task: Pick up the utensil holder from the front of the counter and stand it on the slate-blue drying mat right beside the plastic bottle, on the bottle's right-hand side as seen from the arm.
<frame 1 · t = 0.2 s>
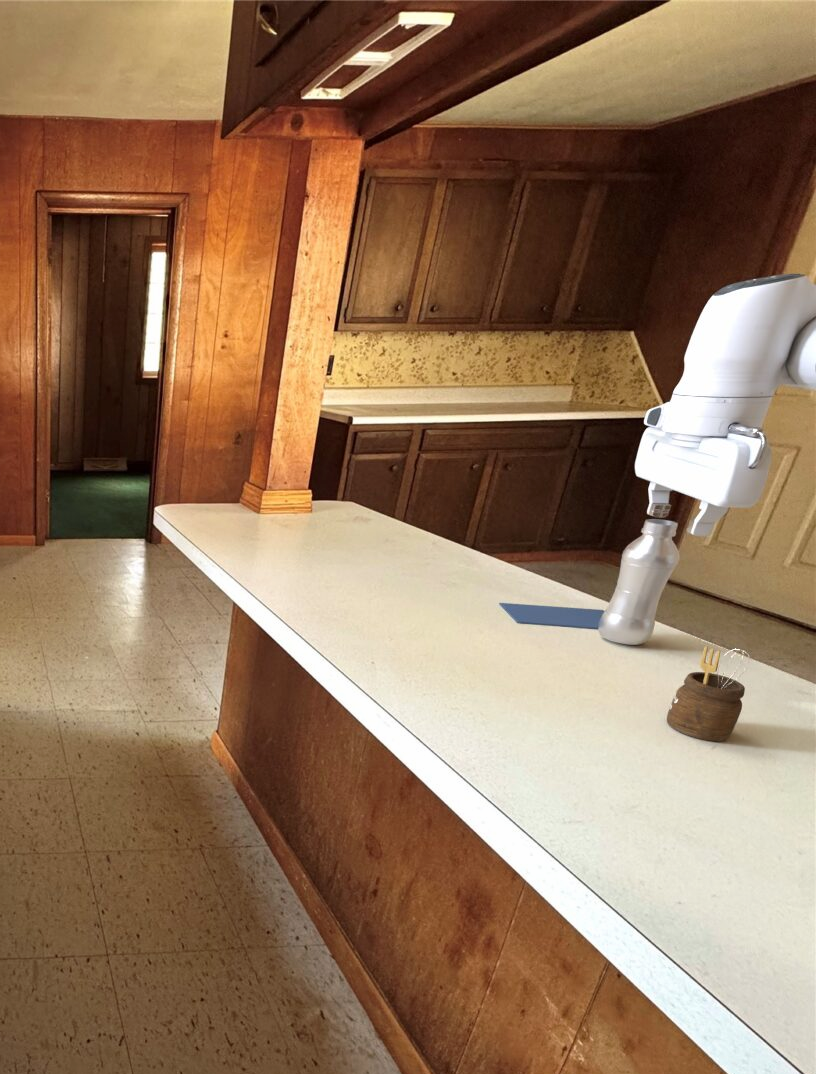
hand: (675, 525, 88), 23 cm above the countertop, tool pointing down, fingers open, 8 cm apart
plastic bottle: (620, 642, 108), on the countertop
drying mat: (560, 617, 117), on the countertop
utensil holder: (694, 731, 84), on the countertop
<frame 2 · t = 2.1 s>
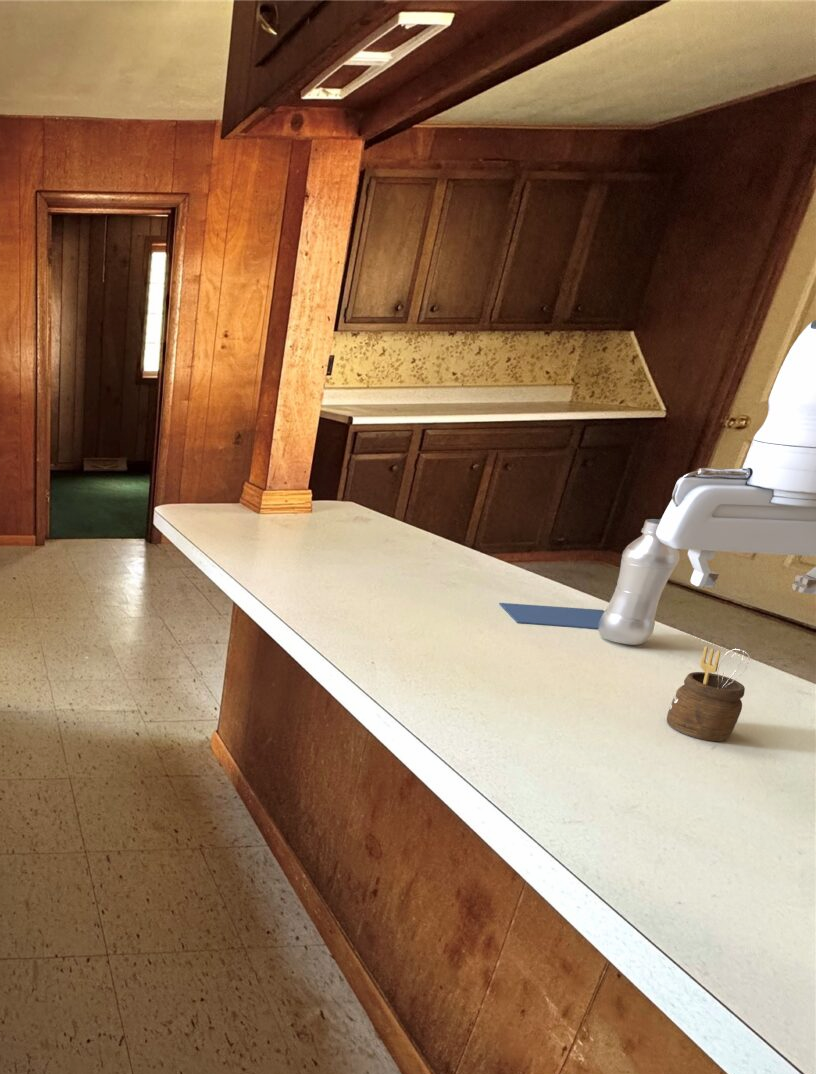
hand: (751, 588, 77), 19 cm above the countertop, tool pointing down, fingers open, 8 cm apart
nothing on the countertop moved.
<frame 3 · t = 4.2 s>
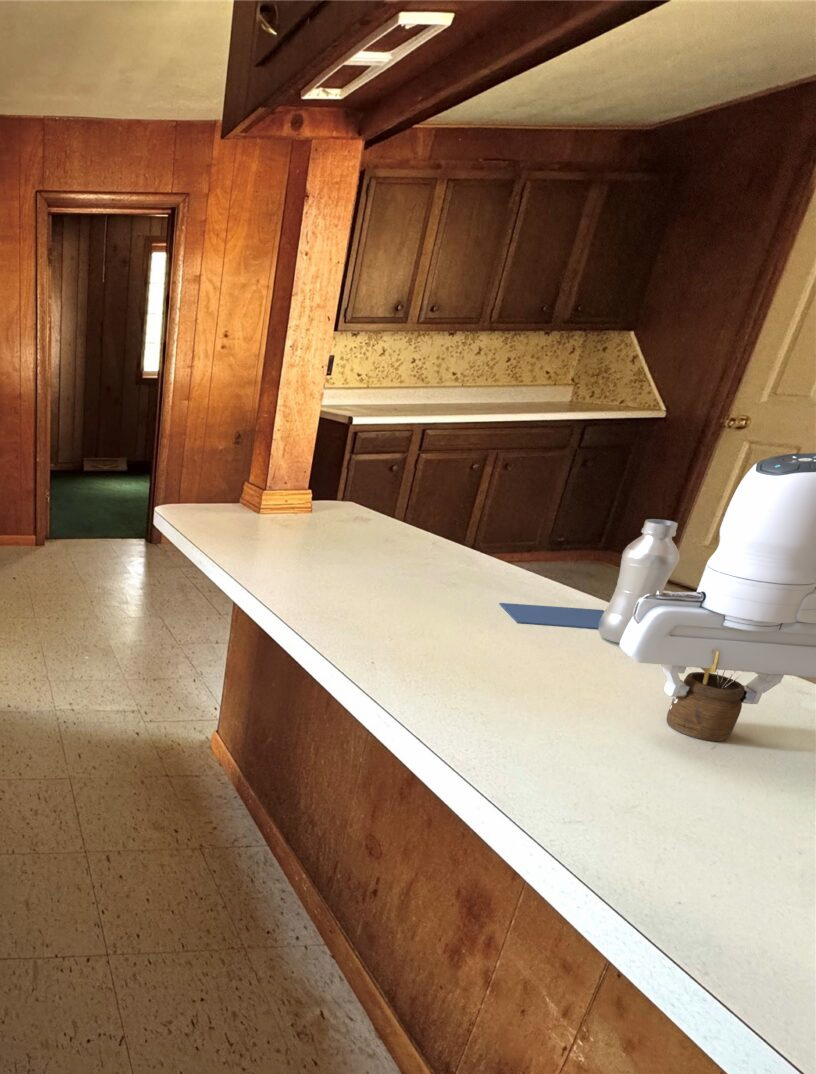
hand: (709, 698, 82), 5 cm above the countertop, tool pointing down, fingers closed on utensil holder, 5 cm apart
utensil holder: (694, 731, 84), on the countertop, touching gripper
everything else where it was.
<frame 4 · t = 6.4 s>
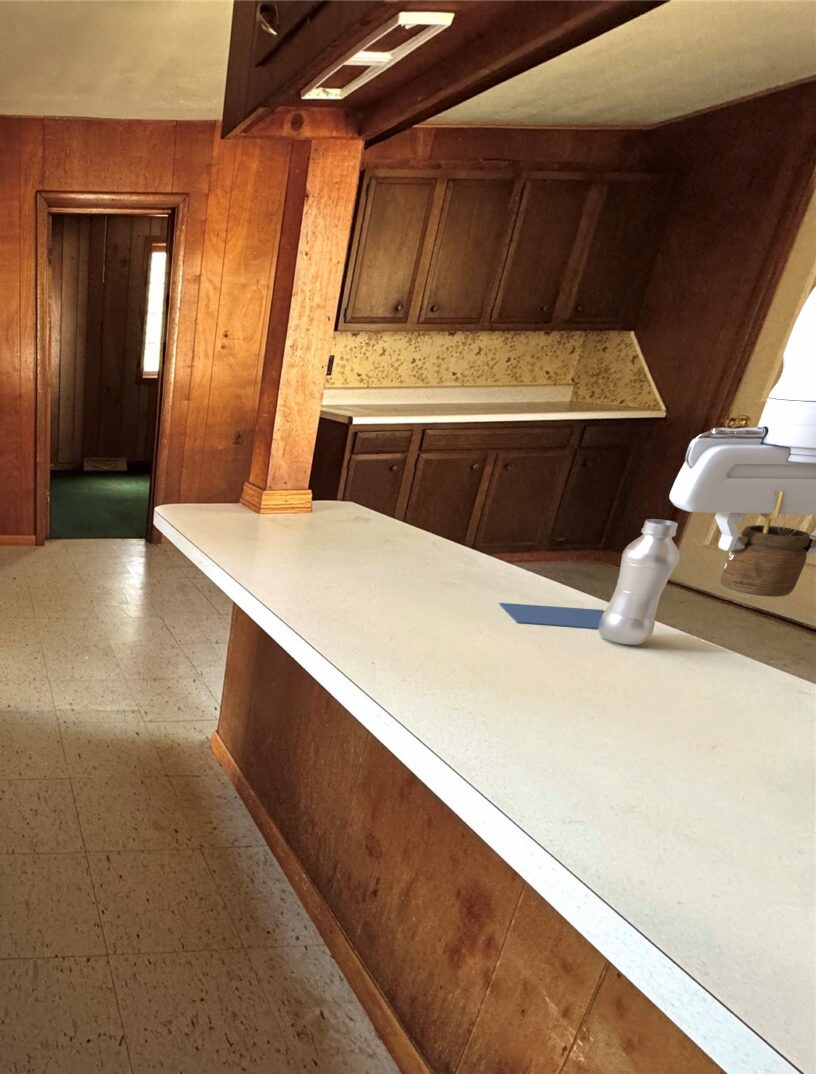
hand: (769, 551, 75), 24 cm above the countertop, tool pointing down, fingers closed on utensil holder, 5 cm apart
utensil holder: (752, 590, 77), point 19 cm above the countertop, touching gripper
everything else where it was.
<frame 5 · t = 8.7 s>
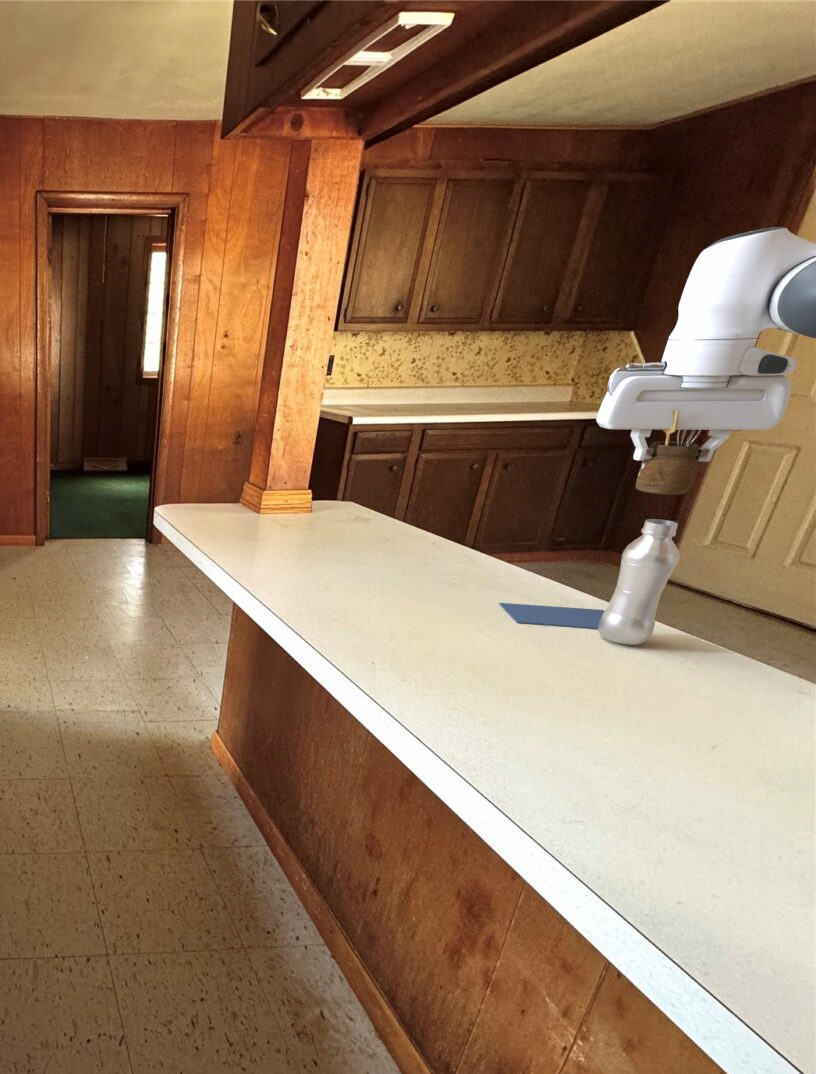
hand: (670, 460, 98), 29 cm above the countertop, tool pointing down, fingers closed on utensil holder, 5 cm apart
utensil holder: (659, 492, 99), point 24 cm above the countertop, touching gripper
everything else where it was.
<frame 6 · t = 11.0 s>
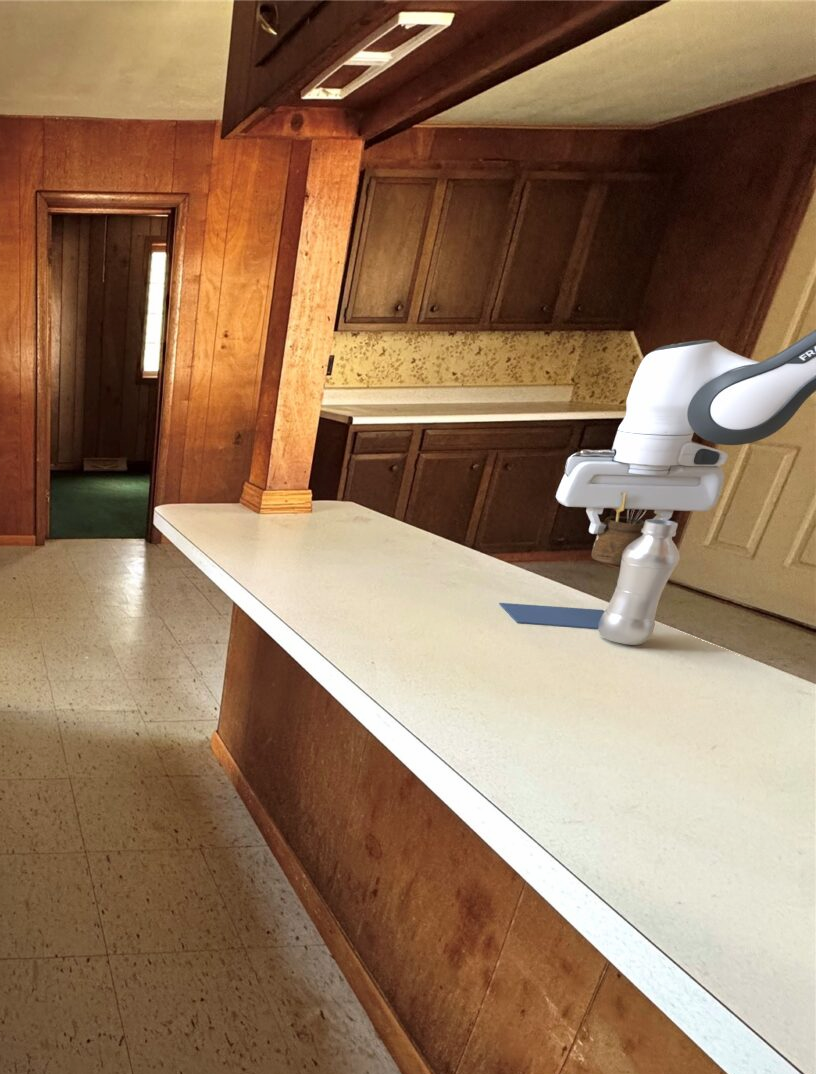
hand: (621, 534, 110), 16 cm above the countertop, tool pointing down, fingers closed on utensil holder, 5 cm apart
utensil holder: (611, 561, 111), point 11 cm above the countertop, touching gripper
everything else where it was.
when the fingers open (5 cm above the countertop, at t = 13.3 s): utensil holder stays where it is, resting on drying mat.
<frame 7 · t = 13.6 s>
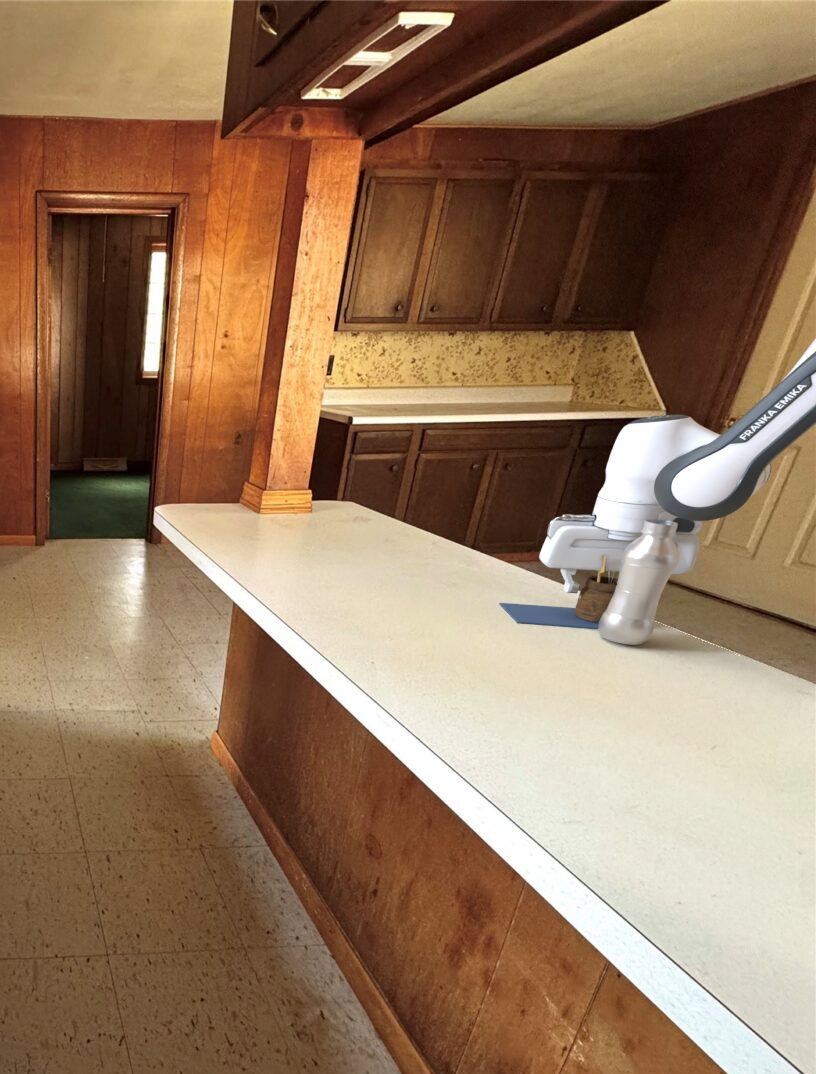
hand: (602, 594, 114), 5 cm above the countertop, tool pointing down, fingers open, 8 cm apart
utensil holder: (594, 619, 115), resting on drying mat
everything else where it was.
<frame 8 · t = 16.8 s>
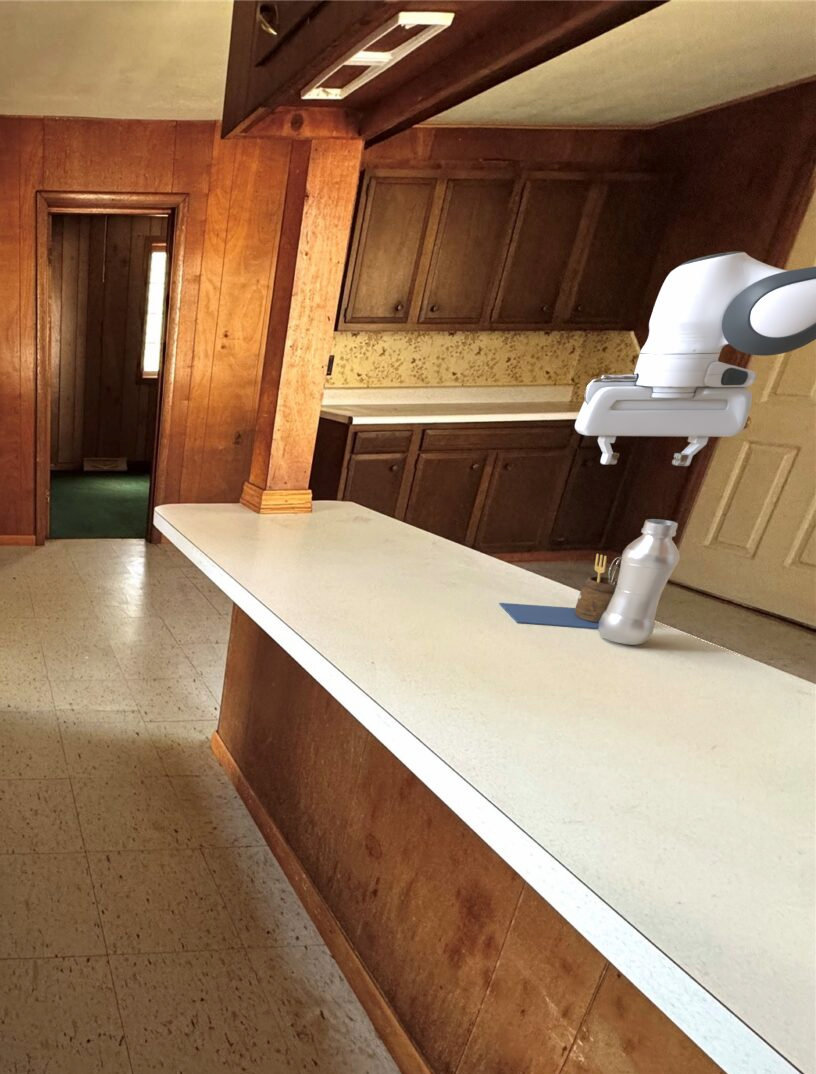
hand: (643, 464, 105), 27 cm above the countertop, tool pointing down, fingers open, 8 cm apart
nothing on the countertop moved.
at the end: utensil holder inside the target area on the countertop beside the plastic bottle (0.1 cm from its centre), resting on drying mat; utensil holder tilted 0°; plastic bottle moved 0.2 cm from its start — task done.
